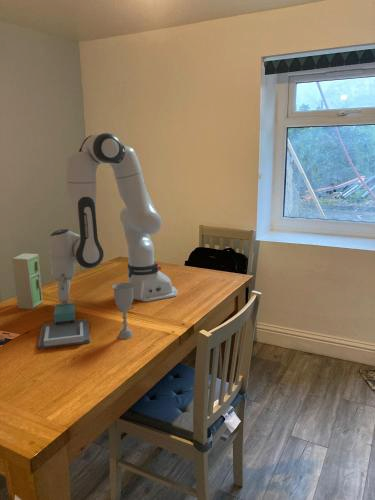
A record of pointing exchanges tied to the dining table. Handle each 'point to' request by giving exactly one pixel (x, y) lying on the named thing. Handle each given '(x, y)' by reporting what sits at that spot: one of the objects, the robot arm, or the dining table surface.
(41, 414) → the dining table surface
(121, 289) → the chalice
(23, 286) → the toy refrigerator
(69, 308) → the teal handled box
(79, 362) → the dining table surface
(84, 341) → the loading dock
